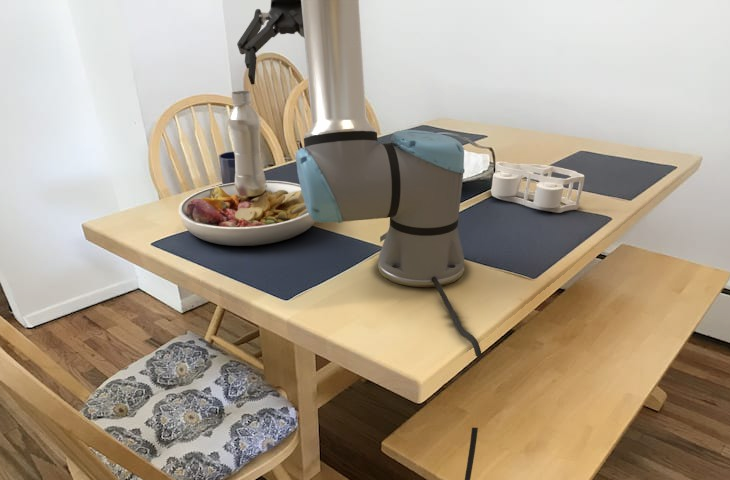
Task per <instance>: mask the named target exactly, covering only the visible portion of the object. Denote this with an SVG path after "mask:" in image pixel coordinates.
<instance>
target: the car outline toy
mask: <svg viewBox="0 0 730 480" xmlns="http://www.w3.org/2000/svg"><path fill="white" fill-rule="evenodd" d="M494 166H495V167H494V169H495V171H494V173H493V175H492V180H491V181H492V182H491V190H490V193H491V196H492V197H494V198H496V199H499V200H501V201H506V202H512V203H516V204H520V205H523V206H525V207H528V208H532V209H536V210H539V211H545V212H552V213H558V214H560V213H563V212H567V211H574V210H575V211H576V210H578V208H579V206H580V202H581V196H582V192H583V188H584V183H585V175H584V174H583V173H579V172H578V171H576V170H572V169H567V168H563V167H560V166H554V165H547V164H546V165H545V164H539V163H538V164H533V163H512V162H506V161H496V162H495V165H494ZM552 173H556V174H561V175H565V176H569V177H566V178H562V177H555V176H552V175H553V174H552ZM523 177H524V178H526V183H525V189H524V190H523V189H521V186H522V180H523ZM532 180H535V181H538V182H536V186H535V190H530V187H531V181H532ZM575 183H579V184H578V187H577V188H578V189H577V193H576V197H575V201H574V200H572V199H571V197H572V191H573V187H574V184H575ZM564 185H568V189H567V193H566V197H565V196H563V192H564V187H565V186H564ZM561 203H563V204H565V205H562V206H561Z"/></svg>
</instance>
